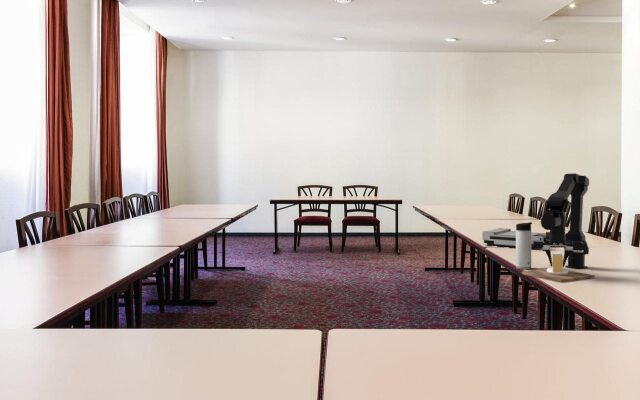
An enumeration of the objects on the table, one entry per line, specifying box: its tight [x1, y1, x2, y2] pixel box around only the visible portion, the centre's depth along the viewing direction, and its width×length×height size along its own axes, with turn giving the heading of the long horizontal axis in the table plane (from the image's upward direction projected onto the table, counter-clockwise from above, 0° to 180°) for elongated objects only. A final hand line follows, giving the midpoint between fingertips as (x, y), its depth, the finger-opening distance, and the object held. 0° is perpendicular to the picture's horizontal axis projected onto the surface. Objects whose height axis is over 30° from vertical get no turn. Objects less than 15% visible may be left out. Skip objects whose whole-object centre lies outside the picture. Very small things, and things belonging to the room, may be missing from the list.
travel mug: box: [515, 221, 533, 271], centre depth 243 cm, size 6×7×20 cm
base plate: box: [521, 268, 596, 284], centre depth 226 cm, size 18×20×1 cm
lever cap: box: [546, 252, 569, 275], centre depth 226 cm, size 8×8×7 cm
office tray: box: [481, 227, 550, 250], centre depth 310 cm, size 21×32×8 cm, turn 47°
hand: (557, 266), depth 226 cm, fingers open, 4 cm apart
